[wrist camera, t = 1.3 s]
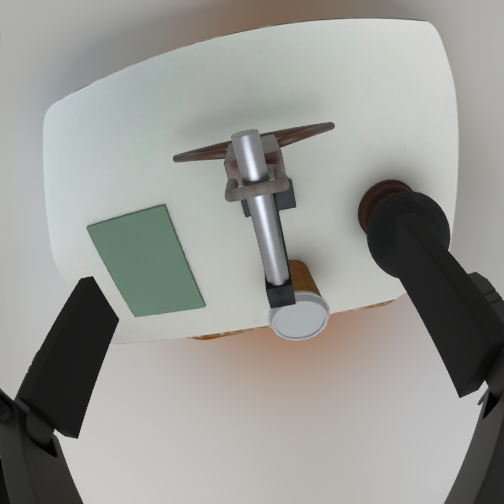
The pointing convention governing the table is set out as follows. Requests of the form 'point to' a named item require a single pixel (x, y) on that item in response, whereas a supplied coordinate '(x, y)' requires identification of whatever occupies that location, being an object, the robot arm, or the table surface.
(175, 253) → the mat
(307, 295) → the disposable coffee cup
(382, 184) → the black ball on stand
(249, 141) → the black and grey stand
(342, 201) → the table surface
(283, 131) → the hanger
